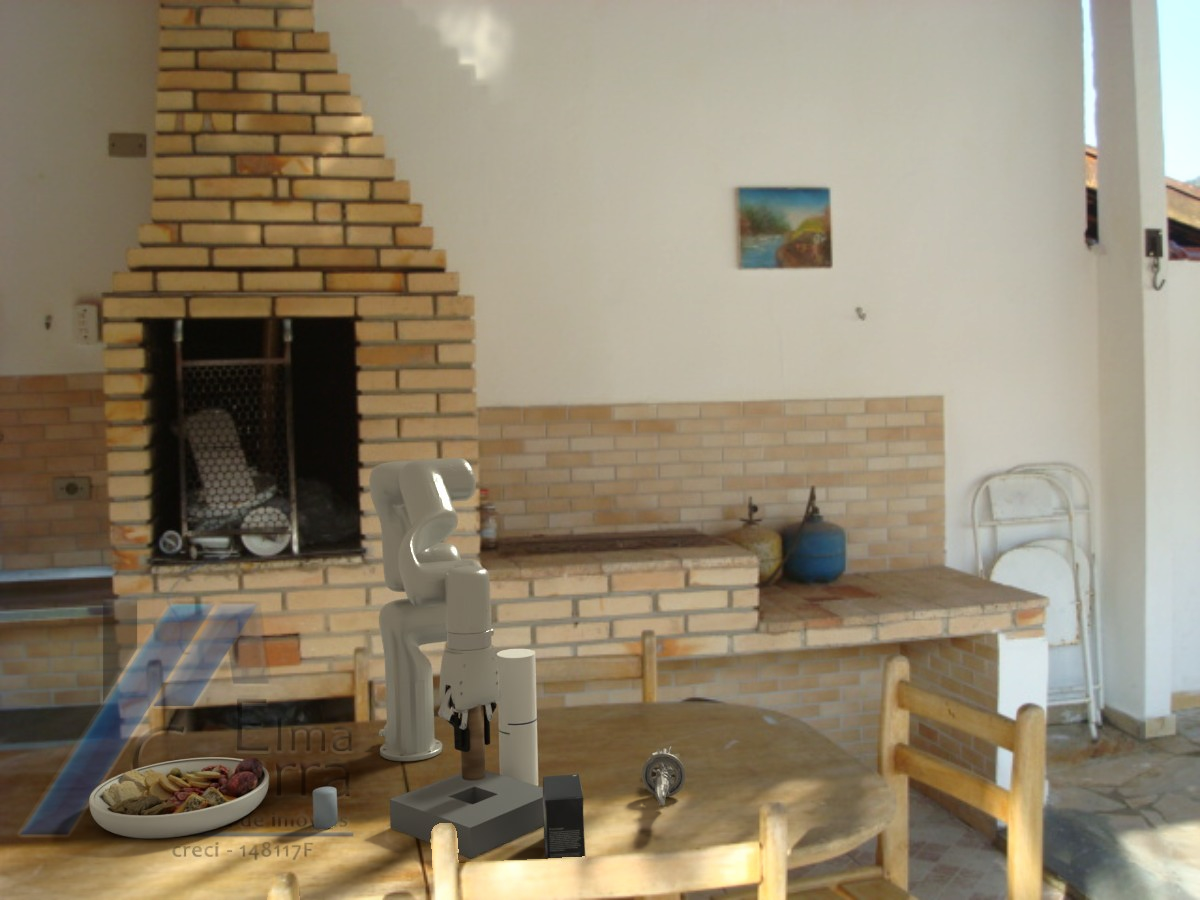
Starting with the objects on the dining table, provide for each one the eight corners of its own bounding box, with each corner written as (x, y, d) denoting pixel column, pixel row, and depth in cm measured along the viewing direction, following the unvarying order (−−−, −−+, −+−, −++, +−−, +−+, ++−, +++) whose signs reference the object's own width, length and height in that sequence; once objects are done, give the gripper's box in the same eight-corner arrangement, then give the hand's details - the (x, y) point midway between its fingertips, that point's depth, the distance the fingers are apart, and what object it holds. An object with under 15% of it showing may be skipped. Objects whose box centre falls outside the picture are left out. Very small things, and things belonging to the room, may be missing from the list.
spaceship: (629, 787, 188) (673, 769, 187) (640, 742, 223) (677, 727, 222) (647, 832, 187) (692, 814, 187) (655, 780, 222) (693, 765, 222)
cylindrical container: (532, 793, 208) (529, 658, 206) (495, 791, 209) (491, 657, 208) (542, 779, 215) (539, 649, 213) (506, 777, 216) (502, 648, 215)
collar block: (390, 828, 193) (389, 799, 193) (476, 793, 208) (476, 767, 208) (471, 858, 180) (470, 827, 180) (556, 819, 195) (556, 791, 195)
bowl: (97, 860, 183) (95, 812, 182) (84, 801, 209) (82, 759, 209) (286, 823, 197) (284, 778, 196) (251, 772, 223) (250, 733, 223)
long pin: (457, 777, 193) (454, 696, 192) (474, 771, 196) (471, 690, 195) (473, 782, 190) (470, 699, 190) (490, 775, 193) (487, 694, 193)
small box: (542, 836, 188) (541, 774, 187) (581, 834, 189) (580, 772, 188) (545, 863, 178) (543, 798, 177) (586, 861, 178) (585, 796, 178)
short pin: (309, 825, 195) (307, 791, 194) (328, 818, 198) (327, 785, 197) (323, 831, 192) (321, 796, 192) (342, 824, 195) (341, 790, 195)
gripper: (489, 629, 201) (492, 731, 202) (416, 646, 188) (420, 755, 189) (519, 634, 196) (522, 738, 197) (446, 652, 183) (450, 764, 184)
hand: (472, 745), depth 193 cm, fingers closed on long pin, 4 cm apart
